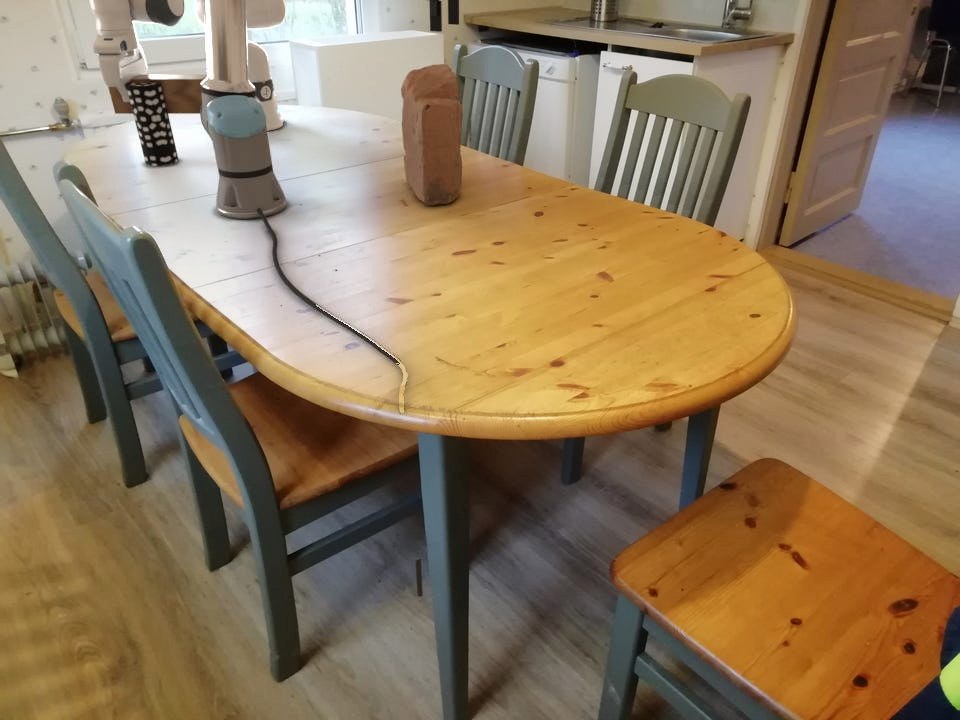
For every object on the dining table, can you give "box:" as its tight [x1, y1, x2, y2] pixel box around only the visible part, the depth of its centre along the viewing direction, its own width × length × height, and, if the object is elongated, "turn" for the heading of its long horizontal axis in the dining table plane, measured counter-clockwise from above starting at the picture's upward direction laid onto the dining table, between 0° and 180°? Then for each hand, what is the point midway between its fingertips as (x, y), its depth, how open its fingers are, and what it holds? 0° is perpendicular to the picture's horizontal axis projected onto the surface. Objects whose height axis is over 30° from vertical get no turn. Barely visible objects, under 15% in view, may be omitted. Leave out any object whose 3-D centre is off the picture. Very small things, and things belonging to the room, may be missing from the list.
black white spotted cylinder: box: [126, 83, 179, 167], centre depth 181 cm, size 8×8×20 cm
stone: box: [400, 63, 464, 206], centre depth 161 cm, size 22×11×28 cm, turn 18°
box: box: [107, 74, 208, 115], centre depth 181 cm, size 24×6×8 cm, turn 93°
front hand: (445, 27), depth 170 cm, fingers open, 13 cm apart
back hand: (133, 98), depth 181 cm, fingers closed on box, 6 cm apart
